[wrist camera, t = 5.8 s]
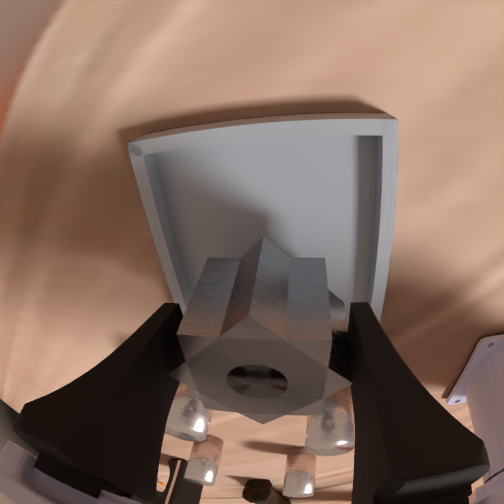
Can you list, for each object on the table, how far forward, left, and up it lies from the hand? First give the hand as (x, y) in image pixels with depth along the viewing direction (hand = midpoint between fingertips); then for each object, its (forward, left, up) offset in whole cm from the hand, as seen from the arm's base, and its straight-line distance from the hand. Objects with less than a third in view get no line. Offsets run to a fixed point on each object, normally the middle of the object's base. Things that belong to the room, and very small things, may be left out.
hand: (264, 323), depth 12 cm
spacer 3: (-1, +24, -4) cm, 24 cm away
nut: (0, 0, -2) cm, 2 cm away
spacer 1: (+6, +10, -4) cm, 12 cm away
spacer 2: (+8, +23, -4) cm, 24 cm away
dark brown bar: (+2, +45, -5) cm, 46 cm away
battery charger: (+15, +35, -5) cm, 38 cm away
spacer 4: (-3, +11, -4) cm, 12 cm away
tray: (0, 0, -4) cm, 4 cm away
